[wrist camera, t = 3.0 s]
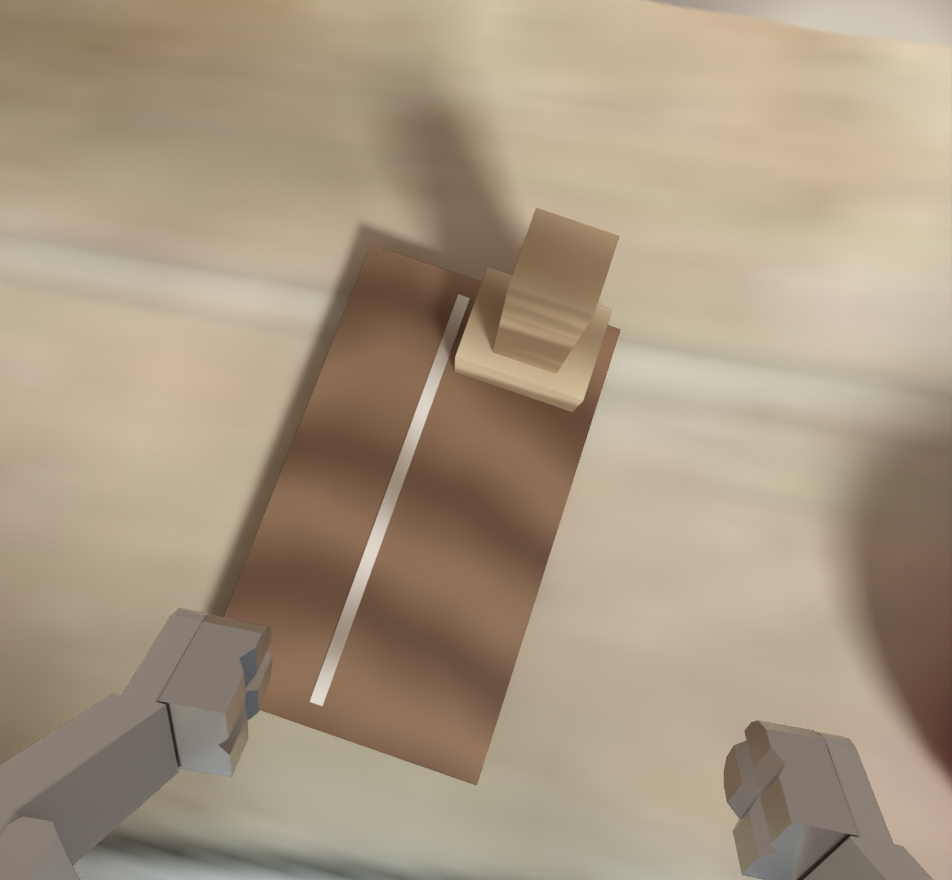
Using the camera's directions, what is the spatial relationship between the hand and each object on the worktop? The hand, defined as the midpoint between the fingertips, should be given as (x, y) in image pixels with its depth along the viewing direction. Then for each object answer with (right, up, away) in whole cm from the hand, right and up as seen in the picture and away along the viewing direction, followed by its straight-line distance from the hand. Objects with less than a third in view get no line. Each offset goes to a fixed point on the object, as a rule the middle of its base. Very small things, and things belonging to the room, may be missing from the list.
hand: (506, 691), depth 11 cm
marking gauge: (+2, +9, +21) cm, 23 cm away
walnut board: (-3, +1, +21) cm, 21 cm away
